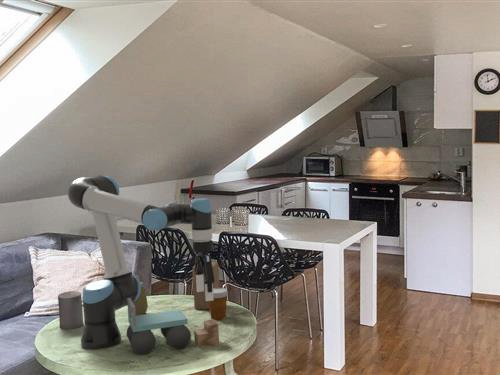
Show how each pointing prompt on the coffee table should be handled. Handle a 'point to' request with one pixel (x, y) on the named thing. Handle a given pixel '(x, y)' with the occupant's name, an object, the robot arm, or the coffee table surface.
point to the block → (201, 296)
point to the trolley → (167, 321)
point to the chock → (207, 334)
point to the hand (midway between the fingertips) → (204, 295)
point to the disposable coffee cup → (218, 304)
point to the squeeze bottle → (141, 301)
